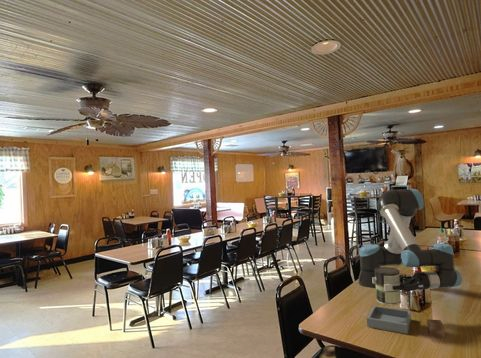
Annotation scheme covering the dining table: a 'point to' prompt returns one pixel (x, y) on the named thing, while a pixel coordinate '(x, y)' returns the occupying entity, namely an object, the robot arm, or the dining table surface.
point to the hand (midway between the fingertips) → (378, 284)
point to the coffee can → (387, 277)
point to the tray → (389, 319)
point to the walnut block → (435, 328)
